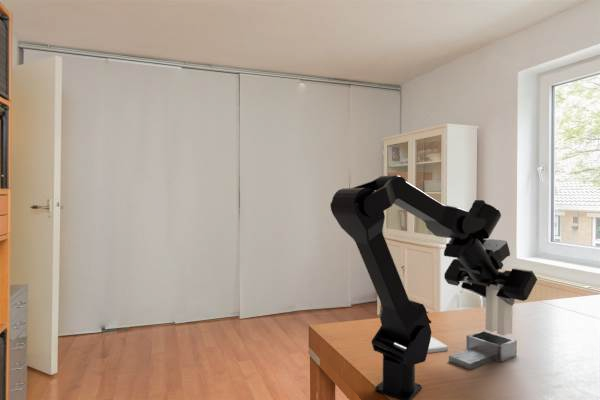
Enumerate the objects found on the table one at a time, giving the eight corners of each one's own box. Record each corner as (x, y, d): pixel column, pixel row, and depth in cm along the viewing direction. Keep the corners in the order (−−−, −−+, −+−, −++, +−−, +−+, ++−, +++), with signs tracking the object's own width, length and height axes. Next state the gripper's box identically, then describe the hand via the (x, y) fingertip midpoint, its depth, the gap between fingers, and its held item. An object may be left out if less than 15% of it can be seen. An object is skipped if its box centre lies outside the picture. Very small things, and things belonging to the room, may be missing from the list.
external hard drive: (448, 353, 91) (399, 358, 88) (427, 340, 99) (382, 345, 96) (448, 346, 91) (399, 351, 88) (427, 334, 99) (382, 338, 96)
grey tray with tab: (476, 372, 80) (477, 355, 80) (442, 358, 86) (442, 343, 86) (518, 355, 89) (518, 339, 89) (484, 343, 95) (484, 329, 95)
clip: (504, 335, 86) (504, 278, 86) (485, 329, 89) (486, 274, 89) (512, 333, 87) (512, 276, 87) (493, 327, 91) (494, 273, 91)
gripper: (532, 231, 78) (560, 281, 84) (452, 224, 94) (480, 267, 100) (509, 274, 74) (540, 324, 80) (429, 260, 90) (460, 302, 96)
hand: (502, 301), depth 89 cm, fingers closed on clip, 4 cm apart
